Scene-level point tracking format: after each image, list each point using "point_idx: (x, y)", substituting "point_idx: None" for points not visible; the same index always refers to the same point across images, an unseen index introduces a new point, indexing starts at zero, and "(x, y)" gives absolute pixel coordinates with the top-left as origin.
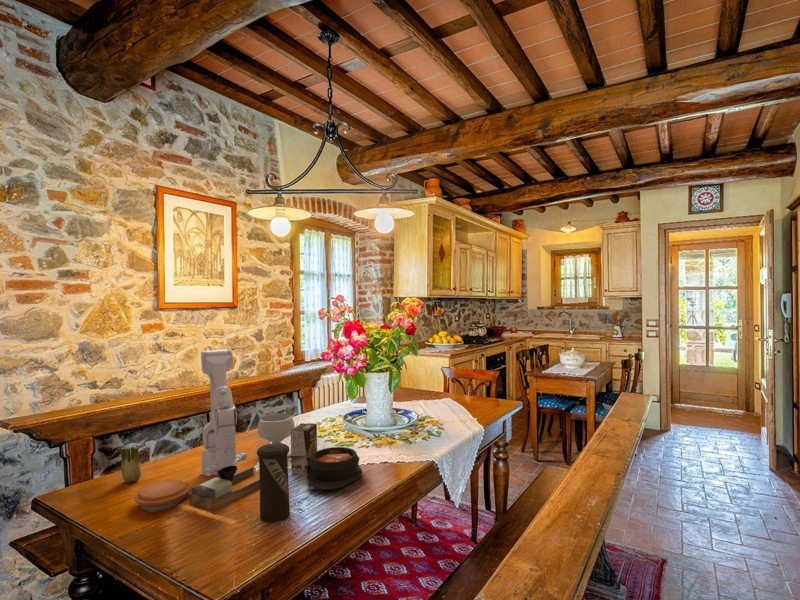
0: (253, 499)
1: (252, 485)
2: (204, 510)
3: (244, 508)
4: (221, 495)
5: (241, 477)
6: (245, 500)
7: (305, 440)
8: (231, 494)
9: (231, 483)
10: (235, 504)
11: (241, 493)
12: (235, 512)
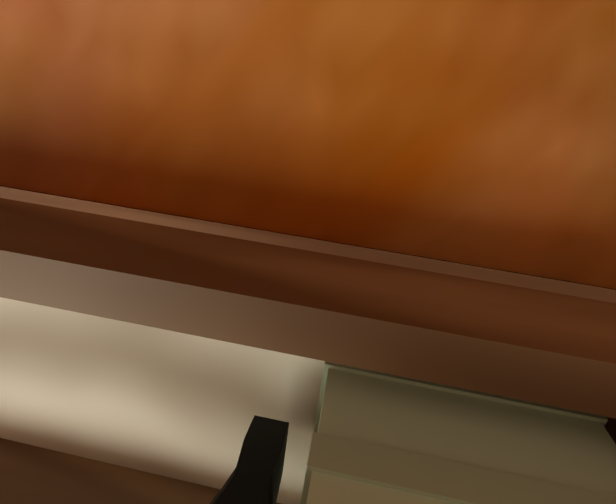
0: (216, 106)
1: (61, 242)
2: None
3: (460, 39)
4: (504, 424)
5: (7, 462)
6: (273, 184)
7: None
8: (440, 322)
9: (309, 480)
10: (389, 228)
11: (264, 261)
12: (594, 80)
